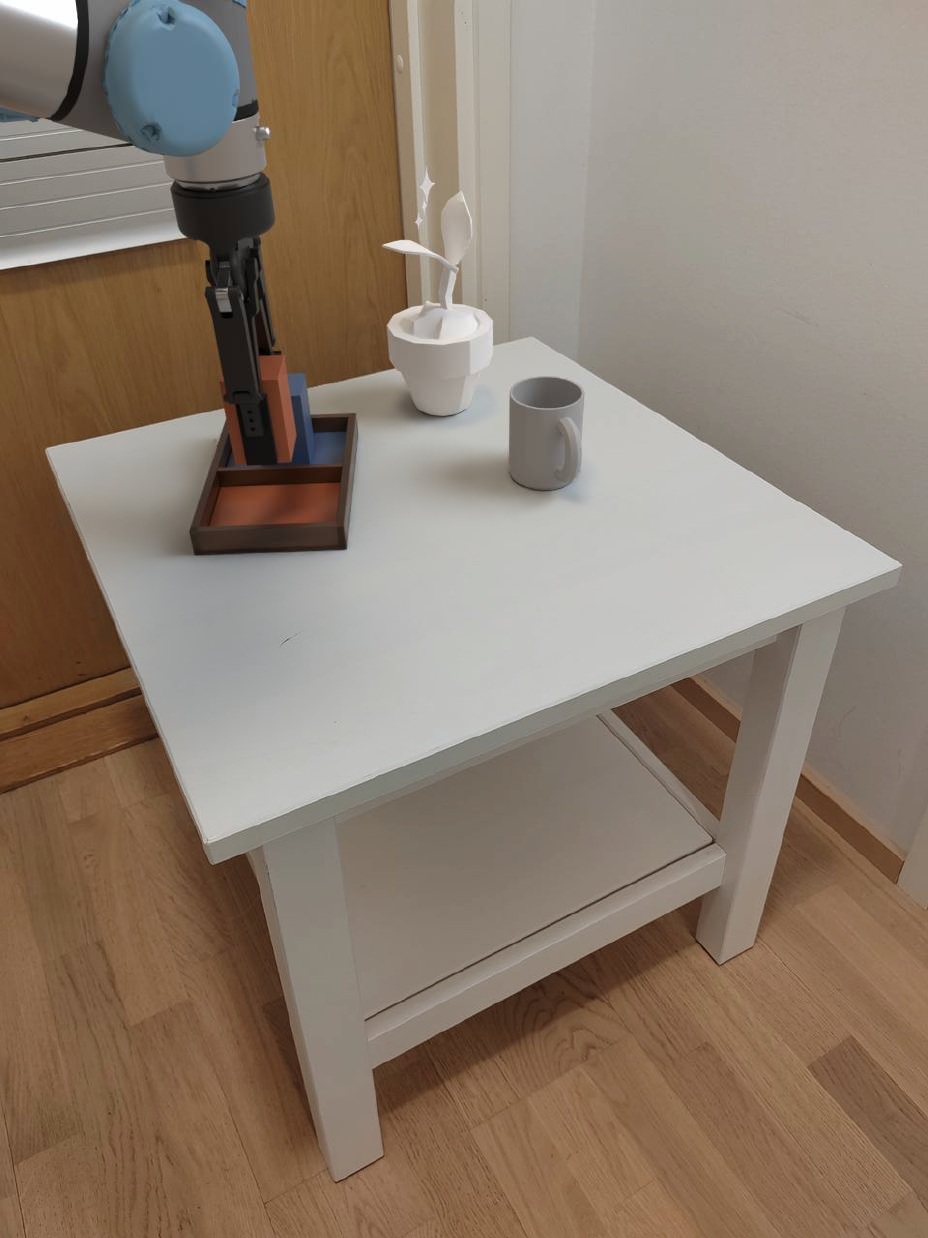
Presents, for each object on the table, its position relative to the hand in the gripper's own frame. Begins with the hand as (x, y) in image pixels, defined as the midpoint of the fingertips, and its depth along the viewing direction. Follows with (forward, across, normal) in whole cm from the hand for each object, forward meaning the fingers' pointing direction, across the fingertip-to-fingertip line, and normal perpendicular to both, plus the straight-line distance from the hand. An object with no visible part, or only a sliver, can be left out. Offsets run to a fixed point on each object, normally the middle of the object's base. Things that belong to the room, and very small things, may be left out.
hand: (266, 446), depth 87 cm
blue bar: (+7, +11, 0) cm, 13 cm away
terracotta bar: (0, 0, 0) cm, 0 cm away
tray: (+8, +5, 0) cm, 9 cm away
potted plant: (+8, +22, -16) cm, 28 cm away
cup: (+8, +5, -27) cm, 29 cm away
